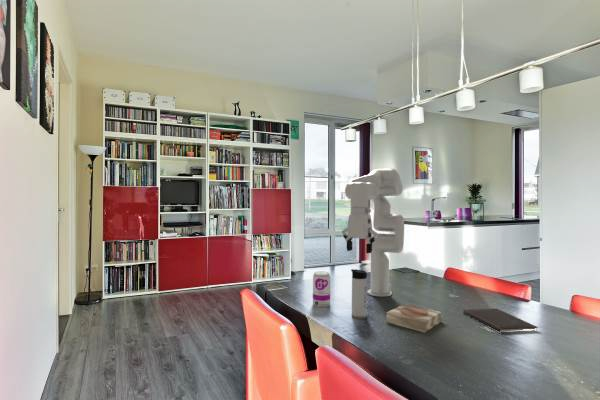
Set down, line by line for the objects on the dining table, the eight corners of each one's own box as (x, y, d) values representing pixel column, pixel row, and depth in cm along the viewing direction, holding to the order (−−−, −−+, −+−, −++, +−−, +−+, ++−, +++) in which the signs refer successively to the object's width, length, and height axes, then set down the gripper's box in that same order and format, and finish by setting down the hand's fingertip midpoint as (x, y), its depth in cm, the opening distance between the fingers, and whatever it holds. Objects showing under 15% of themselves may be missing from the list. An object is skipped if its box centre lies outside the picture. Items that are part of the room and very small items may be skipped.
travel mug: (349, 314, 155) (349, 268, 155) (364, 314, 156) (364, 268, 155) (352, 319, 149) (353, 271, 149) (368, 318, 149) (368, 271, 149)
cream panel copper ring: (404, 312, 157) (404, 303, 157) (441, 321, 146) (441, 311, 146) (386, 322, 145) (386, 311, 145) (424, 332, 135) (424, 321, 135)
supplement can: (329, 308, 164) (329, 275, 164) (311, 306, 165) (311, 274, 165) (331, 302, 172) (331, 271, 171) (314, 301, 173) (314, 270, 173)
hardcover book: (496, 313, 159) (496, 308, 159) (537, 332, 137) (537, 326, 137) (463, 314, 157) (463, 309, 157) (499, 334, 134) (499, 328, 134)
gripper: (382, 211, 149) (381, 253, 149) (347, 210, 160) (347, 248, 160) (372, 212, 143) (372, 255, 143) (337, 211, 155) (337, 250, 155)
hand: (359, 251), depth 152 cm, fingers open, 9 cm apart
